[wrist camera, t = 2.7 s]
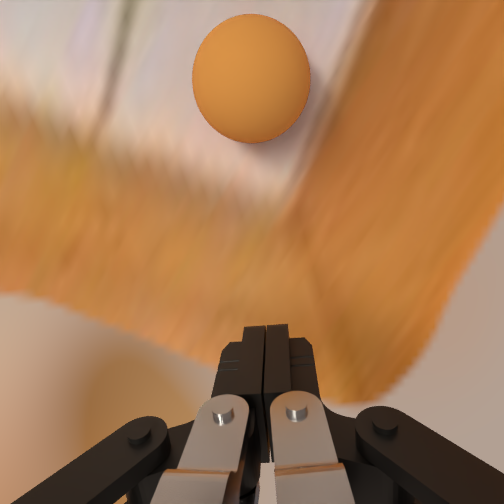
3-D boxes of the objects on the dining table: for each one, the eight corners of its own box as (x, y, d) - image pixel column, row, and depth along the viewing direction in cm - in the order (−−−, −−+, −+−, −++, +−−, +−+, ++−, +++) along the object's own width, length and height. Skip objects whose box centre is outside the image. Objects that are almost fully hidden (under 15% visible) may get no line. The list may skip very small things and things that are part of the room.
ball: (196, 35, 20) (168, 8, 15) (302, 21, 20) (311, -12, 15) (211, 144, 22) (191, 153, 17) (308, 133, 22) (319, 139, 16)
